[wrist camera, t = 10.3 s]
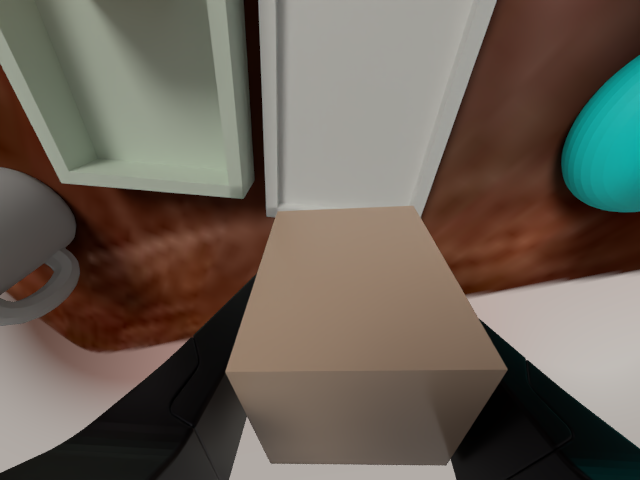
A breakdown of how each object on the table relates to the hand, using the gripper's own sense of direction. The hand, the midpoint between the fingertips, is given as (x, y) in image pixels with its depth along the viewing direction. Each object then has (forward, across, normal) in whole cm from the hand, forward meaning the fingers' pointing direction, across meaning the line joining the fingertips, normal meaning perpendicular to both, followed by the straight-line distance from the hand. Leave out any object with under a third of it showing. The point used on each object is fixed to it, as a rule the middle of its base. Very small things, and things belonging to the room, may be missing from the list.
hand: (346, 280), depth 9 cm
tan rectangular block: (+1, 0, 0) cm, 1 cm away
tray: (+11, -1, -4) cm, 12 cm away
